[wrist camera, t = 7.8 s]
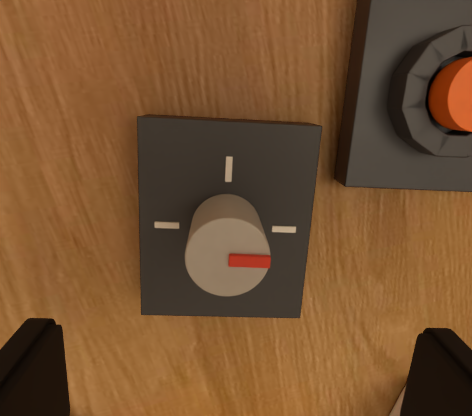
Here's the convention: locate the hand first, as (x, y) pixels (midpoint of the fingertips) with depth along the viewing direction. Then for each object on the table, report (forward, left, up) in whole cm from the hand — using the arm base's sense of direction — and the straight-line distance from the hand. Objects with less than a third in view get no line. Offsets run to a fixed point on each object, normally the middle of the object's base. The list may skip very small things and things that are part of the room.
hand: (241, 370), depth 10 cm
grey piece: (-8, +12, -15) cm, 21 cm away
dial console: (0, 0, -15) cm, 15 cm away
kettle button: (-8, +12, -12) cm, 18 cm away
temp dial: (0, 0, -12) cm, 12 cm away
